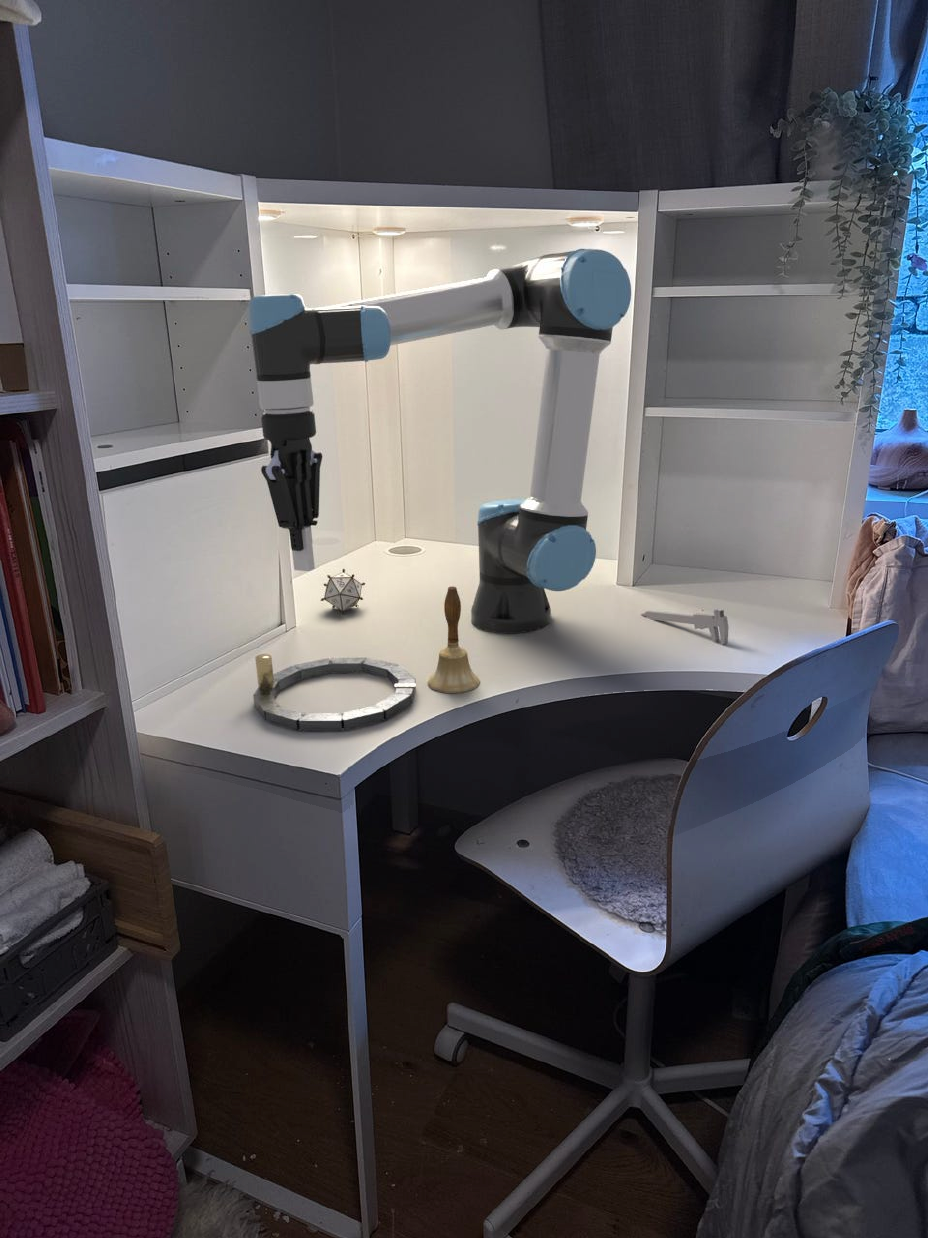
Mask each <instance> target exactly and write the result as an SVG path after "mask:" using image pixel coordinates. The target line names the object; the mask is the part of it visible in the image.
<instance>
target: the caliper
mask: <svg viewBox="0 0 928 1238" xmlns="http://www.w3.org/2000/svg"><path fill="white" fill-rule="evenodd" d="M640 616H642V617H645V618H647V619H648V620H649V619H650V620H655V621H662V622H663V621H664V622H671V623H672V622H673V623H680V624H688V625H693V626H694V629H695V630H705V629H708V631H709V633H710V637H711V639H712V642H713V643H715V644H716V643H719V642H720V644H721V645H726V644H728V642H729V641H728V640H729V630H730V629H729V621H728V616H727V615H725V612H724V609H722V610H719V608H717V609H714V610H713V614H712V613H711V614H710V613H709V614H707V613H699V612H698V613H693V614H686V613H676V612H668V611H659V610H647V611H645V612H643V613H640Z"/></svg>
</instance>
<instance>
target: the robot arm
mask: <svg viewBox="0 0 928 1238" xmlns="http://www.w3.org/2000/svg"><path fill="white" fill-rule="evenodd" d="M631 300H632V284H631V279H630V277H629V274H628V271H627V269H626V268H625V267H624V265H623V264H622V262H621V260H620V259H619V258H618V257H617V256H615V255H614V254H613V253H611V252H609V251H608V250H604V249H597V248H596V249H594V248H578V249H576V250H571V251H564V252H559V253H558V252H557V253H549V254H543V255H541V256H537V257H535V258H530V259H528V260H527V261H526V260H525V261H524V262H520V263H517V264H513V265H510V266H505V267H501V268H496V269H492V270H490V271H489V272H488V274H487V276H486V277H484V278H483V277H482V278H478V279H471V280H467V281H460V282H457V283H451V284H450V283H449V284H445V285H440V286H439V285H438V286H434V287H433V286H432V287H429V288H422V289H417V290H411V291H406V292H400V293H396V294H389V295H385V296H379V297H373V298H368V299H367V298H366V299H363V300H362V299H361V300H357V301H351V302H347V303H341V304H340V303H339V304H335V305H330V306H323V307H311V308H310V307H309V308H308V307H306V305H305V303H304V299H303V297H302V296H301V295H300V294H298V293H294V294H293V293H292V294H288V293H287V294H269V295H268V294H265V295H256V296H254V297H252V298H251V299H250V301H249V304H248V313H249V327H250V328H249V333H250V335H251V343H252V351H253V357H254V366H255V374H256V381H257V382H256V383H257V390H258V401H259V402H258V403H259V407H260V409H261V410H264V412H262V413H261V415H260V419H261V420H260V421H261V431H262V436H263V438H264V440H267V441H269V442H270V446H271V447H270V452H269V453H270V454H269V456H270V459H271V460H270V461H269V464H268V465H262V466H261V470H260V471H261V474H262V476H263V477H264V479H265V481H266V482H267V483H266V484H267V486H268V487H267V488H268V490H269V496H270V498H271V502H272V505H273V509H274V513H275V516H276V520H277V524H278V527H279V528H282V529H286V530H287V529H288V533H289V539H290V540H289V541H290V548H291V551H292V555H291V556H292V561H293V569H294V571H299V572H300V571H301V572H311V571H313V570H315V569H316V567H315V556H314V548H313V546H314V545H313V533H312V526H317V525H318V520H314V519H318V518H319V517H320V516H319V515H320V488H321V487H320V483H321V482H320V480H321V476H320V475H321V465H322V462H323V454H322V453H321V452H315V451H314V450H313V444H312V442H311V438H314V437H315V436H316V434H317V427H316V417H315V412H314V411H313V410H312V409H311V407H313V406H314V402H315V401H314V395H313V385H312V377H311V376H312V375H311V365H321V364H335V363H336V364H339V363H352V362H353V363H354V362H365V363H368V362H369V361H377V360H382V359H384V358H386V356H387V355H388V354H389V352H390V348H391V346H394V345H400V344H404V343H410V342H415V341H419V340H425V339H431V338H436V337H441V336H446V335H449V334H450V335H451V334H456V333H461V332H466V331H470V330H471V331H472V330H475V329H480V328H486V327H487V328H488V327H490V326H491V327H492V326H495V328H497V329H498V330H500V331H501V330H502V331H503V330H507V329H512V328H513V329H514V328H523V327H524V328H527V327H528V328H529V327H530V328H539V330H538V339H539V340H540V341H541V342H542V344H543V345H544V347H545V349H546V352H545V360H544V371H543V379H542V387H541V395H540V404H539V415H538V421H537V422H538V423H537V433H536V438H535V439H536V440H535V447H534V448H535V449H534V458H533V465H532V467H533V468H532V474H531V475H532V477H531V485H530V494H529V495H528V497H527V498H516V499H515V498H514V499H512V498H511V499H502V500H495V501H489V502H486V503H484V504H481V506H480V507H479V509H478V517H477V522H476V523H477V529H478V530H477V531H478V532H477V534H478V536H477V537H478V563H479V564H478V566H479V568H478V569H479V583H478V586H477V590H476V592H475V597H474V600H473V603H472V606H471V609H470V617H471V618H470V619H471V623H472V625H474V626H475V627H477V629H481V630H484V631H486V632H487V631H488V632H492V633H493V632H494V633H503V634H515V633H517V634H518V633H528V632H533V631H537V630H539V629H540V630H541V629H543V628H545V627H546V626H547V625H549V624H550V623H551V622H552V621H551V620H552V612H551V611H552V608H551V606H550V602H549V600H548V599H549V598H548V597H547V594H546V590H549V591H551V592H563V591H564V592H565V591H567V590H568V591H569V590H570V589H573V588H575V587H576V586H578V585H579V584H580V583H581V582H582V581H584V580H585V579H586V578H587V577H588V575H589V574H590V572H591V571H592V569H593V567H594V565H595V563H596V562H595V561H596V558H597V557H596V556H597V547H596V542H595V540H594V539H593V537H592V535H591V534H590V532H589V531H588V530H587V526H588V524H587V523H588V517H589V511H588V509H587V508H586V507H585V506H584V505H583V503H582V492H583V487H584V486H583V485H584V479H585V471H586V462H587V457H588V456H587V455H588V448H589V447H588V446H589V440H590V432H591V431H590V430H591V426H592V425H591V424H592V417H593V408H594V403H595V402H594V401H595V392H596V387H597V377H598V371H599V363H600V355H601V353H602V352H603V351H604V350H605V349H606V348H608V346H610V345H611V343H612V336H613V328H614V327H615V326H616V325H618V324H619V323H620V322H621V320H622V318H624V317H625V316H626V314H627V312H628V311H629V308H630V304H631Z"/></svg>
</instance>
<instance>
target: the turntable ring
mask: <svg viewBox="0 0 928 1238" xmlns="http://www.w3.org/2000/svg"><path fill="white" fill-rule="evenodd" d="M255 667H256V668H255V669H256V674H257V675H256V676H257V686H258V687H257V688H256V690H255V692H254V693H253V694H252V696H253V706H254V707H255V708H256V710H257V712H258V713H259V714H260V716H261V718H263V720H264V722H266V723H270V724H274V725H277V726H279V727H280V726H281V727H283V728H286V729H291V730H295V731H300V732H342V731H343V730H344V731H349V730H353V729H357V728H361V727H364V726H365V727H366V726H369V725H374V724H378V723H381V722H385V721H388V720H389V719H391V718H393V717H394V716H395V715H397V714H399V713H401V712H402V711H404V710H406V709H407V708H409V707H410V706H411V705H412V704H413V700H414V697H415V692H416V689H417V687H416V686H417V684H416V683H417V682H416V677H415V676H414V675H412V673H410V672H409V671H408V670H407V669H405V668H404V667H403V666H402V665H400V664H397V663H393V662H389V661H384V660H380V659H377V658H372V657H331V658H329V657H327V658H322V659H317V660H313V661H308V662H304V663H303V662H302V663H299V664H298V663H297V664H293V665H289V666H287V667H286V668H284V669H281V670H279V671H277V672H276V673H274V670H273V669H274V668H273V660H272V654H270V653H262V654H257V655H256V656H255ZM332 673H333V674H334V673H364V674H369V675H372V676H377V677H380V678H384V679H388V681H390V682H391V683H392V684H393V685H394V687H393V688H395V692H394V693H393V694H391V695H390V696H388V697H386V698H384V699H383V700H381V701H379V702H377V703H375V704H374V705H370V706H367V707H361V708H357V709H353V710H349V711H343V712H309V713H307V712H303V711H299V710H296V709H293V708H288V707H286V706H282V705H280V704H279V702H278V701H277V700H276V699H275V698H276V697H277V695H278V693H279V692H280V690H282V689H284V688H287V687H288V686H290V685H292V684H294V683H296V682H298V681H300V680H302V679H307V678H312V677H313V678H314V677H317V676H322V675H326V674H327V675H328V674H332Z"/></svg>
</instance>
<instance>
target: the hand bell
mask: <svg viewBox="0 0 928 1238" xmlns="http://www.w3.org/2000/svg"><path fill="white" fill-rule="evenodd" d="M457 588H458V587H456V586H449V587H448V588H447V592H446V595H445V599H444V602H443V603H444V605H443V606H444V611H443V612H444V616H445V620H446V623H447V646H446V647H443V648H442V649H440V651H439V652H438V660H437V661H438V662H437V665H436V669H435V670H434V672H433V674H432V675H431V676H430V677H429V679H428V681H427V685H428V687H429V688H430V689H431V690H434V691H435V692H440V693H445V694H459V693H466V692H470V691H473V690H474V689H476V688H478V686H479V685H480V684H481V680H480V679H479V676H478V675H477V674H475V673H474V671H473V670H472V668H471V665H470V663H469V662H470V661H469V656H468V651H467V650H466V649H465V648H463V647H460V646H459V641H460V640H459V622H460V620H461V619H460V618H461V612H462V605H461V604H462V603H461V598H460V596H459V592H458V589H457Z"/></svg>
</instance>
